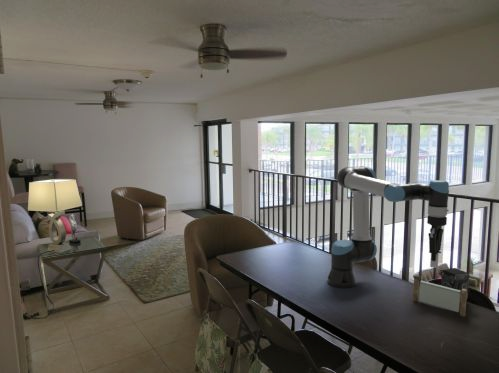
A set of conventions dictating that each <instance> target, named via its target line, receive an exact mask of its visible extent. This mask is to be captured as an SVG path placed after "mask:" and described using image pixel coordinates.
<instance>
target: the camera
mask: <svg viewBox="0 0 499 373" xmlns="http://www.w3.org/2000/svg"><path fill="white" fill-rule="evenodd" d="M441 272H442V273H441V279H440V280H441V282H440V285H441V286H445V287H448V288H452V289H456V290H460V291H461V292H462V289H466V290H467V299H468V297H469V293H470V292H471V290H470V288H469V283H470V282H469V279H470V274H469V273H468V272H466V271H464V270H461V269H459V268H455V267H452V268H445V269H444V268H443V269H442V271H441ZM460 303H461V295H460Z"/></svg>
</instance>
